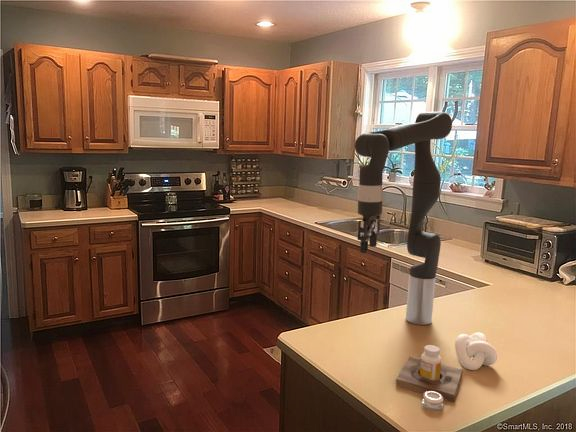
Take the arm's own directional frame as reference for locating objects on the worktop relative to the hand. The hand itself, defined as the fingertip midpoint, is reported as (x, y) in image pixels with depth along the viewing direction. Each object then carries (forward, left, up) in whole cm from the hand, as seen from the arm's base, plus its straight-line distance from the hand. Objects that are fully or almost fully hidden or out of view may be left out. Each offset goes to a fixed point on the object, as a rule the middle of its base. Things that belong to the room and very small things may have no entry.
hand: (368, 249), depth 145 cm
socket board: (+14, +24, -31) cm, 42 cm away
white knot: (-2, +33, -31) cm, 46 cm away
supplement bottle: (+14, +24, -31) cm, 42 cm away
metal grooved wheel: (+26, +27, -31) cm, 49 cm away
